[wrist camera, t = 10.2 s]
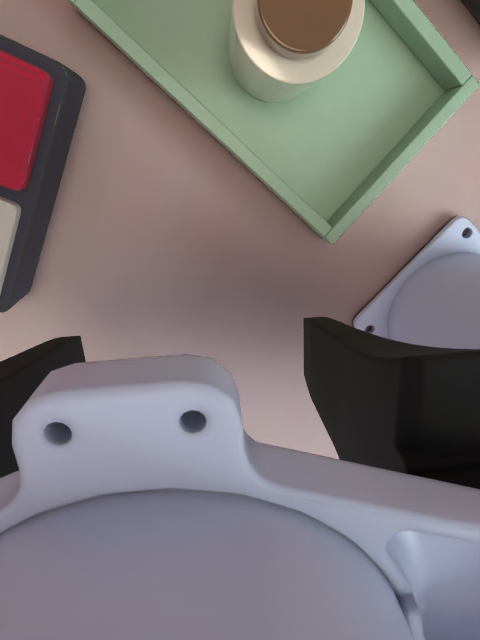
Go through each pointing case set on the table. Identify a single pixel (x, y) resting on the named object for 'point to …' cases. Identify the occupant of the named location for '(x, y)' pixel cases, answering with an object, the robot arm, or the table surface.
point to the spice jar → (289, 43)
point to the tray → (302, 99)
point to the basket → (473, 7)
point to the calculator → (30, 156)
